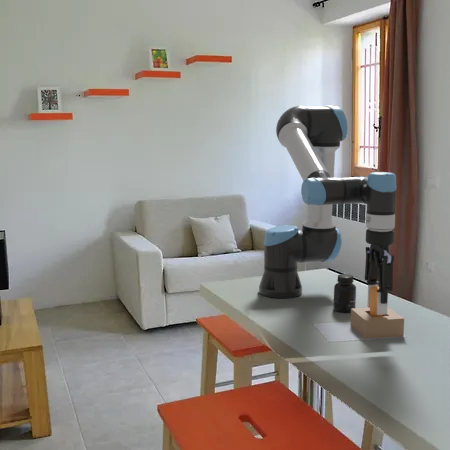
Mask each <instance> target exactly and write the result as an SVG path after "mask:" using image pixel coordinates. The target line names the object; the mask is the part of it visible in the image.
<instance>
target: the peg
mask: <svg viewBox="0 0 450 450" xmlns="http://www.w3.org/2000/svg"><path fill="white" fill-rule="evenodd" d="M377 290H379V286H378V287H371V288H370V316H371V317H377V316H383V315H377Z"/></svg>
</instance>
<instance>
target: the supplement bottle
mask: <svg viewBox="0 0 450 450" xmlns="http://www.w3.org/2000/svg"><path fill="white" fill-rule="evenodd" d="M336 281H337V283H335V285H334V286H333V305H332V306H333V311H334V312H336V313H340V314H351V309H353V308H356V307H357V306H356V303H357V286H356V285H355V284H354V275H353V274H347V273H341V274H338V275H337V279H336Z"/></svg>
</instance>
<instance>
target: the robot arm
mask: <svg viewBox="0 0 450 450" xmlns="http://www.w3.org/2000/svg"><path fill="white" fill-rule="evenodd" d="M275 129H276V130H275V133H276V137H277V139H278V141H279V144H280V145H281V146H282V147H283V148H286V150H287V152H288V154H289V156H290V157H291V160H292V162H293V164H294V166H295V167H296V169H297V171H298V174H299V175H300V177H301V179H302V184H301V186H300V187H301V189H300V192H301V198H302V202H303V203H304V204H306V205H307V210H306V212H307V215H306V216H307V217H306V219H305V220H304V221H303V222H302V228H301V229H299V227H298V226H297V225H294V224H293V225H292V224H290V225H279V226H274V227H270V228H269V229H267V230H266V231H265V233H264V240H263V246H264V248H263V256H264V257H263V260H264V261H263V263H264V265H263V266H264V267H263V273H262V276H261V280H260V283H259V285H258V293H259V294H260V295H261V296H264V297H268V298H274V299H289V298H296V297H299V296H300V295H302V294H303V285H302V282H301V279H300V276H299V272H298V264H300V263H316V262H317V263H319V262H321V263H324V262H329V261H334V260H335V259H336V258H337V257H338V256H339V255H340V253H341V249H342V237H341V236H342V233H341V231H340V229H339V228H337V224H336V223H335V222H334V220H333V205H346V204H347V205H350V204H355V205H356V204H365V205H366V217H365V218H364V220H365V222H366V228H367V229H366V230H365V243H367V244H369V245H370V246H365V268H364V280H365V281H366V283H367V307H366V308H370V288H371V287H379V290H377V315H384V314H387V307H388V306H389V305H388V301H389V300H388V299H389V293H390V292H393V285H394V283H393V282H394V281H393V279H394V277H393V275H394V270H393V269H394V260H395V256H394V255H393V254H392V255H390V251H389V246H390V245H393V244H394V242H395V231H394V229H395V228H396V227H395V226H396V201H397V189H398V188H397V175H396V174H395V173H394V172H386V171H374V172H370V173H369V174H368V175H367V176H366V175H358V176H357V175H356V176H353V177H349V176H348V177H335V165H336V164H335V160H336V159H335V158H336V151H337V150H338V149H340V147H341V142H343V141H345V139H346V138H347V135H348V120H347V116H346V114H345V112H344V111H343V109H342V108H341V107H339V106H337V105H336V106H335V105H334V106H333V105H296V106H293V107H290V108H288V109H287V110H286V111H284V112H283V113H282V114H281V116H280V117H279V118H278V121H277V123H276V128H275Z"/></svg>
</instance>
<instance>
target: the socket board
mask: <svg viewBox="0 0 450 450" xmlns="http://www.w3.org/2000/svg"><path fill="white" fill-rule="evenodd" d="M312 326H314V327H315V329H316V330H317V331H318V332H319V333H320V334H321V335H322V336H323V337H324V338H325V339H326V340H327V342H328V343H338V342H354V341H355V342H356V341H372V340H373V341H374V340H389V339H403V338H407V336H406V335H405V333H404V332H405V318H404V317H403V316H401V315H400V314H398V313H397V312H396V311H394V310H393V309H392V308H390V307H388V306H387V314H384V315H383V316H377V317H371V316H370V308H368V307H357V308H353V309H351V313H350V321H343V322H342V321H341V322H323V323H312Z"/></svg>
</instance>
